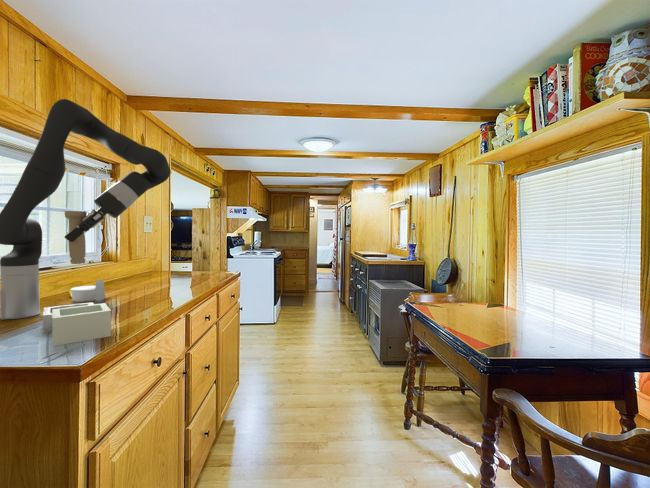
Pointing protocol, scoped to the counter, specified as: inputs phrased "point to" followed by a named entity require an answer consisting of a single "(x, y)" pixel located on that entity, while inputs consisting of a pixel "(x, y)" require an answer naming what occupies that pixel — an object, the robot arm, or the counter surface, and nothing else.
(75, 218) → the handle
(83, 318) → the cradle block
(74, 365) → the counter surface
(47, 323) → the bore block
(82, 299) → the ramekin
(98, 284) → the tapered grey rod
